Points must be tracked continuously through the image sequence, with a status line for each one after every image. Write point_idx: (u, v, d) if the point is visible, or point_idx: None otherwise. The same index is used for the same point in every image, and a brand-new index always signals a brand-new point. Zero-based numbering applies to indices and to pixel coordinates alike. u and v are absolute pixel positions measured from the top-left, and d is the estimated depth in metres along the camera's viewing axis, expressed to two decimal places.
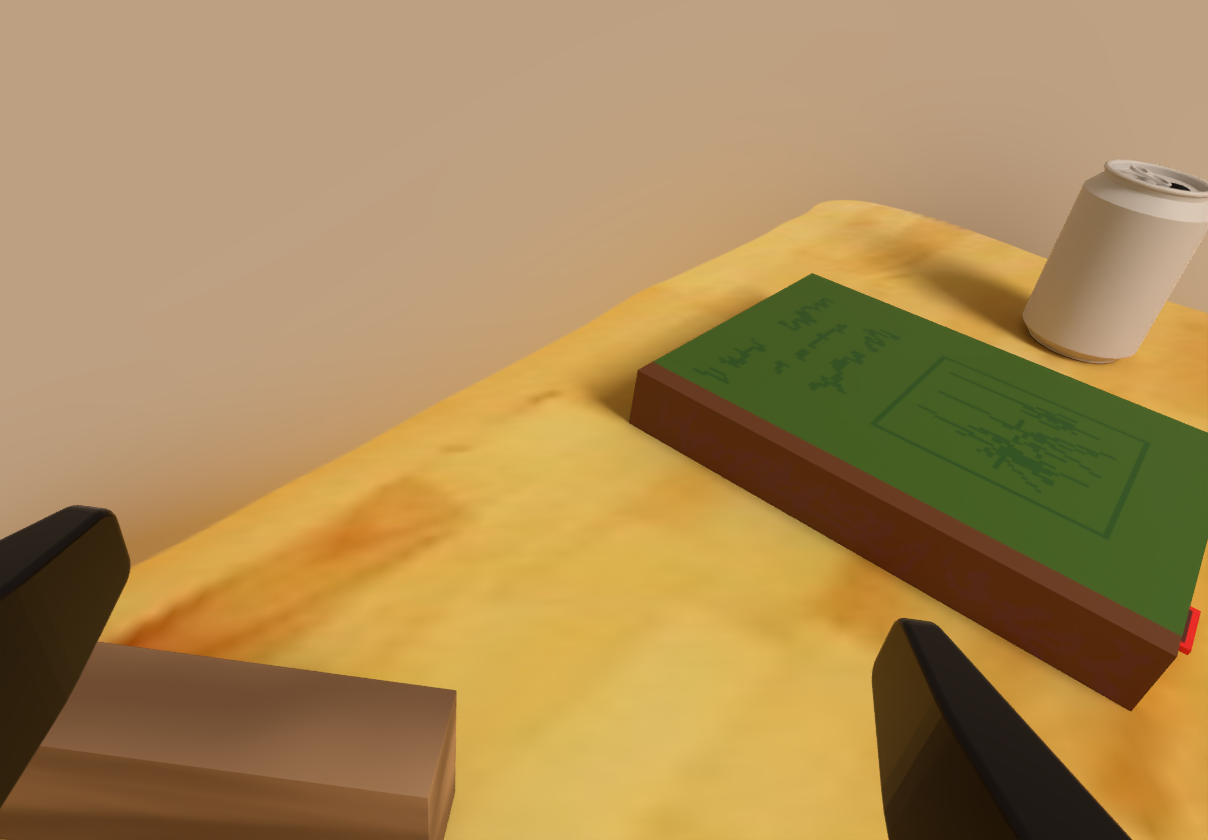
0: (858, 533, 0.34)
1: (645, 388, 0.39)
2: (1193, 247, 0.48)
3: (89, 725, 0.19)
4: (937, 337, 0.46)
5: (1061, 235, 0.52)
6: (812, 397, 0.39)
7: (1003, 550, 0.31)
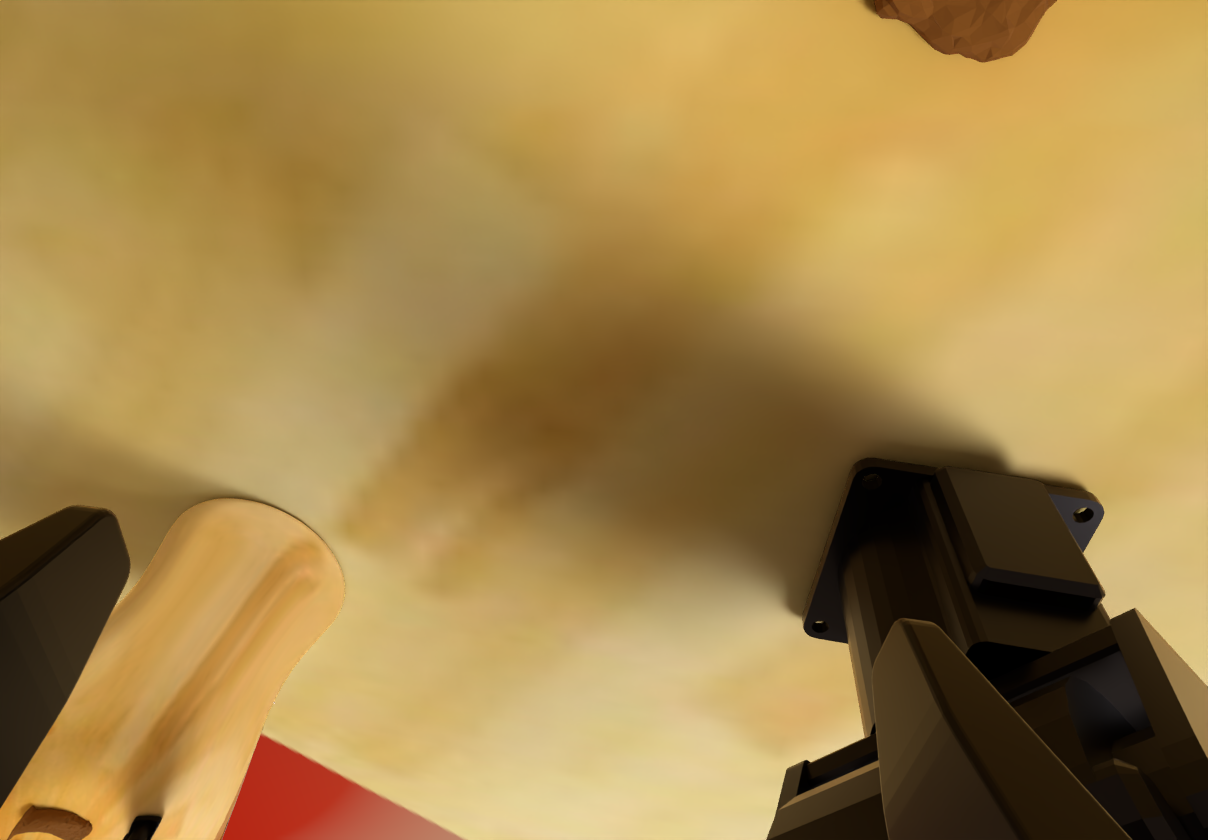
0: None
1: None
2: None
3: None
4: None
5: None
6: None
7: None
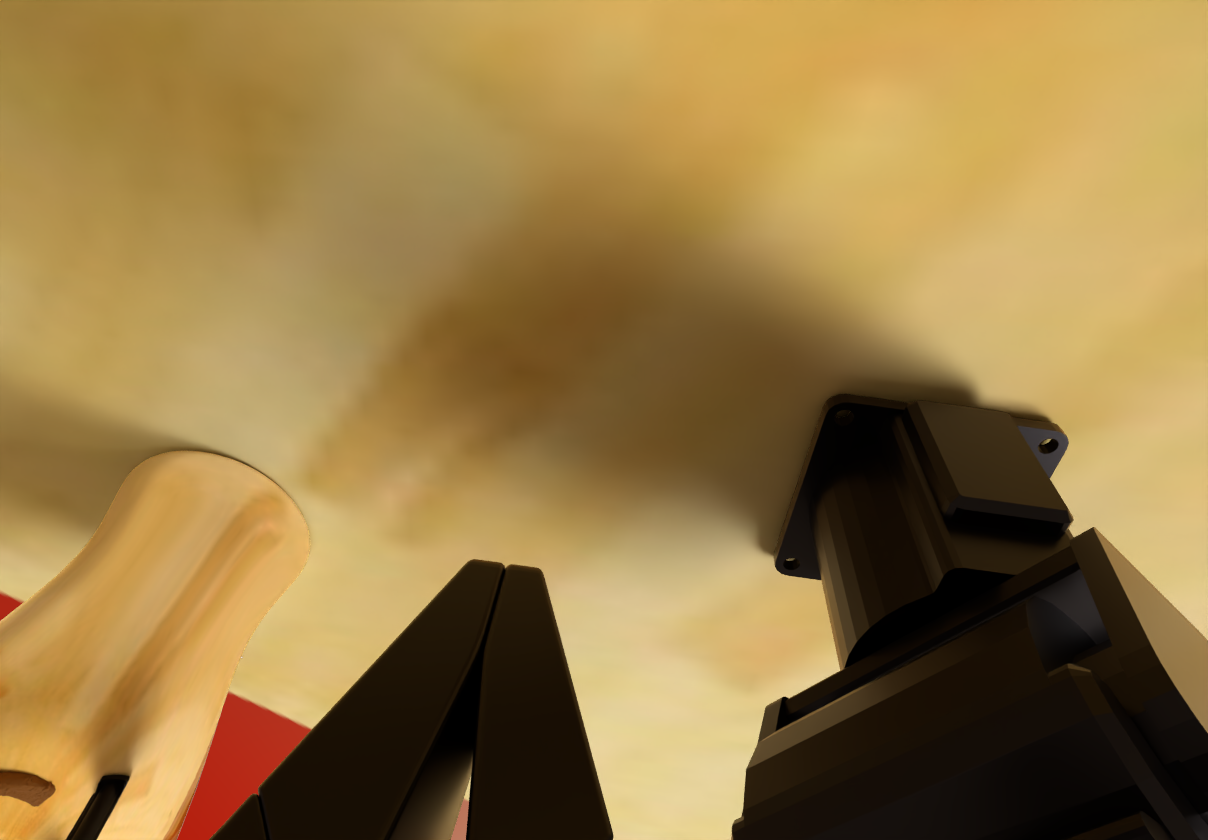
0: None
1: None
2: None
3: None
4: None
5: None
6: None
7: None
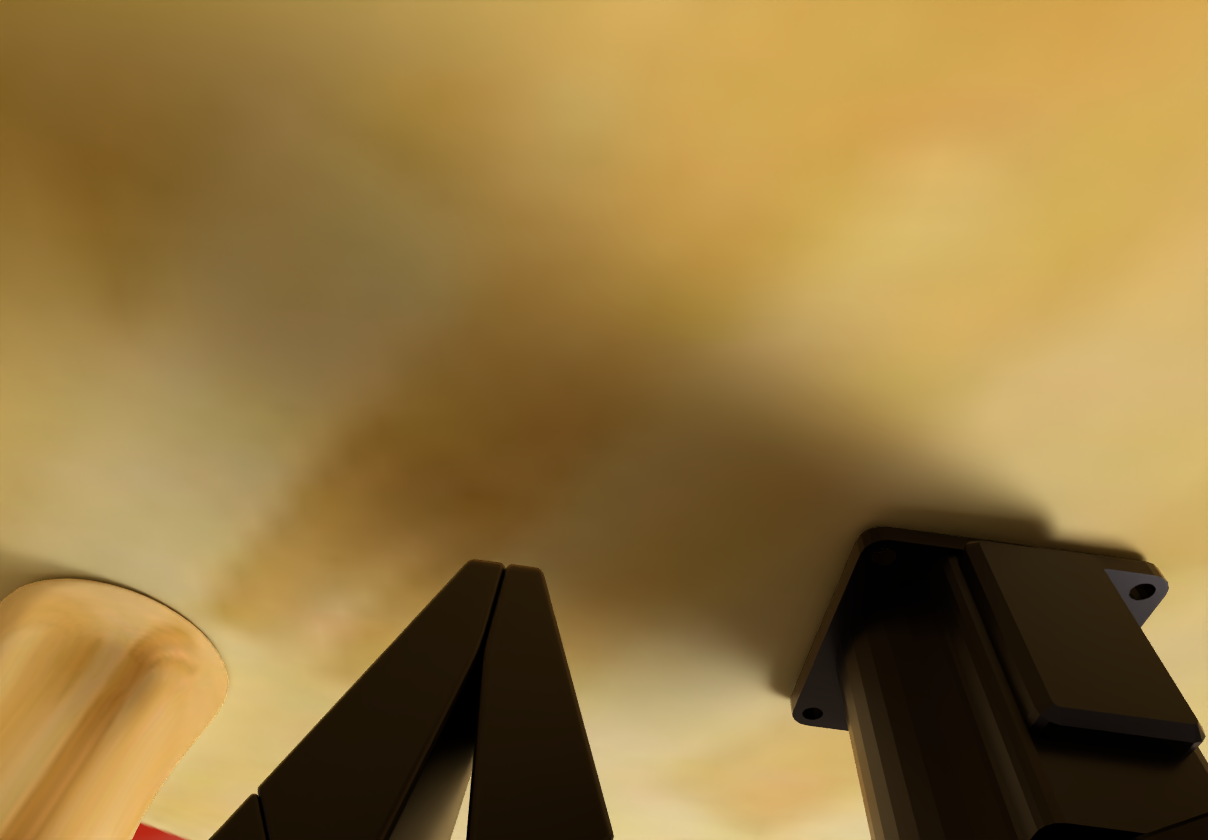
0: None
1: None
2: None
3: None
4: None
5: None
6: None
7: None
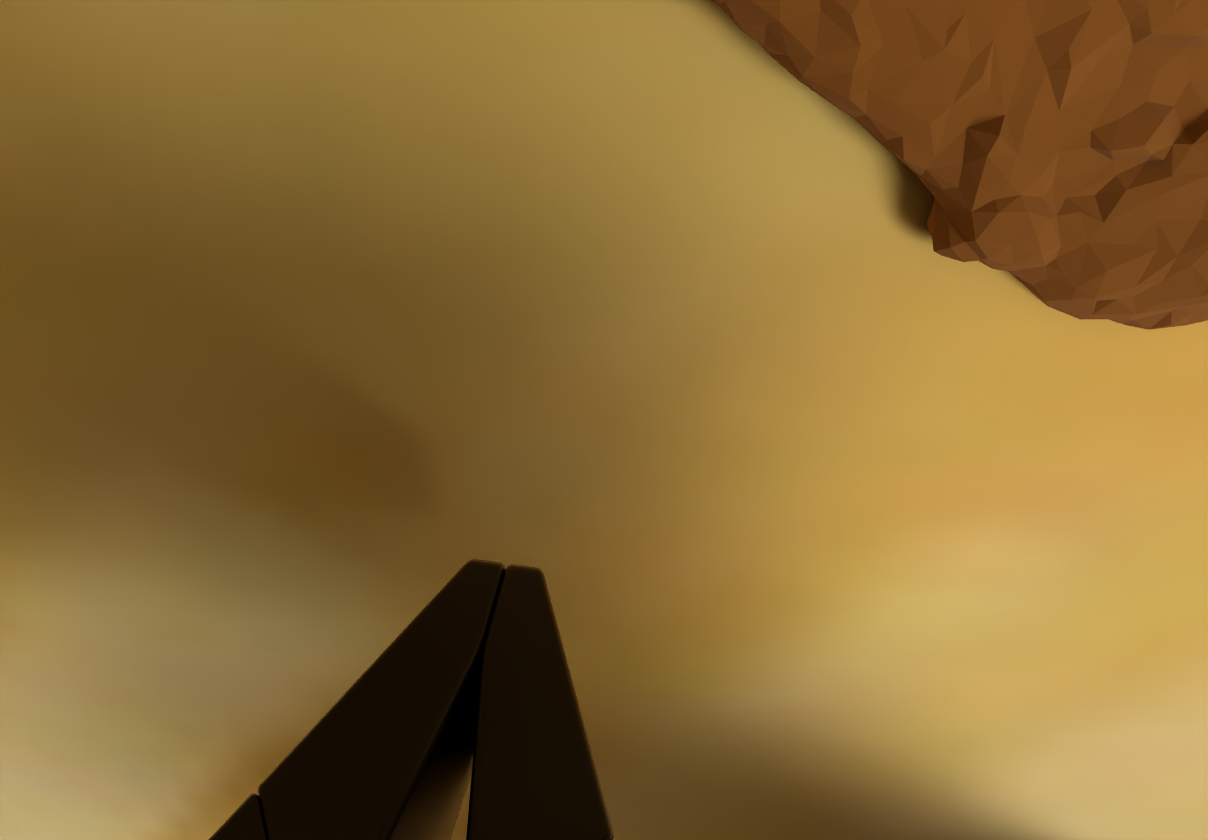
0: None
1: None
2: None
3: None
4: None
5: None
6: None
7: None
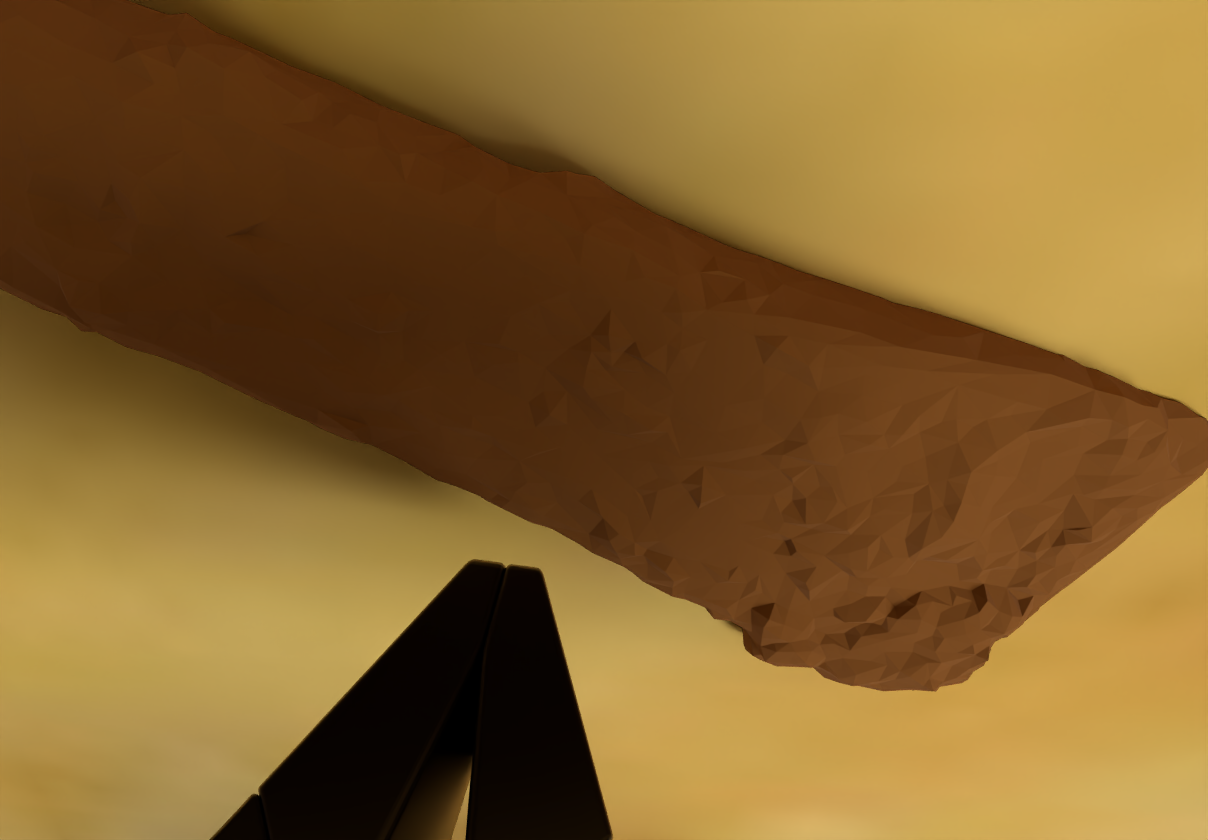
0: None
1: None
2: None
3: None
4: None
5: None
6: None
7: None
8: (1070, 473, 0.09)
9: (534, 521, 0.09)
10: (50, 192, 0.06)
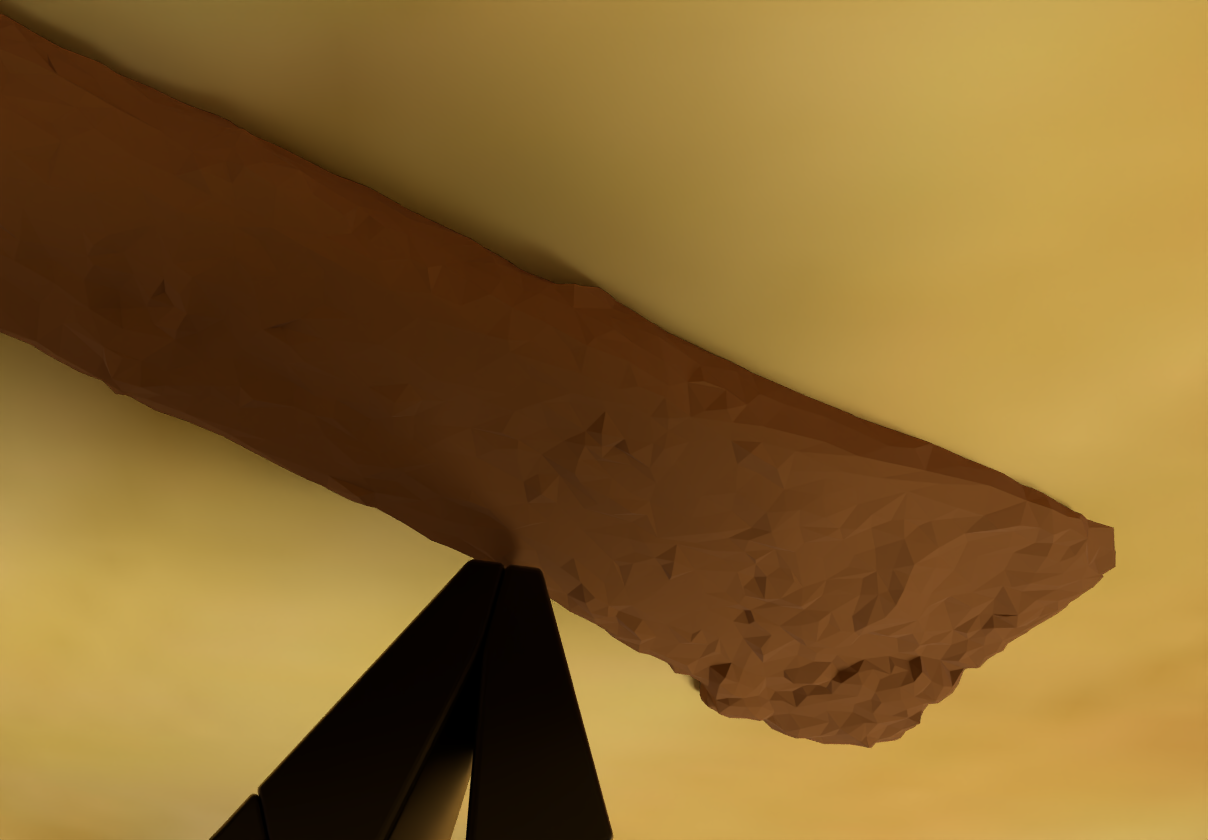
0: None
1: None
2: None
3: None
4: None
5: None
6: None
7: None
8: (1001, 568, 0.10)
9: None
10: (107, 281, 0.07)
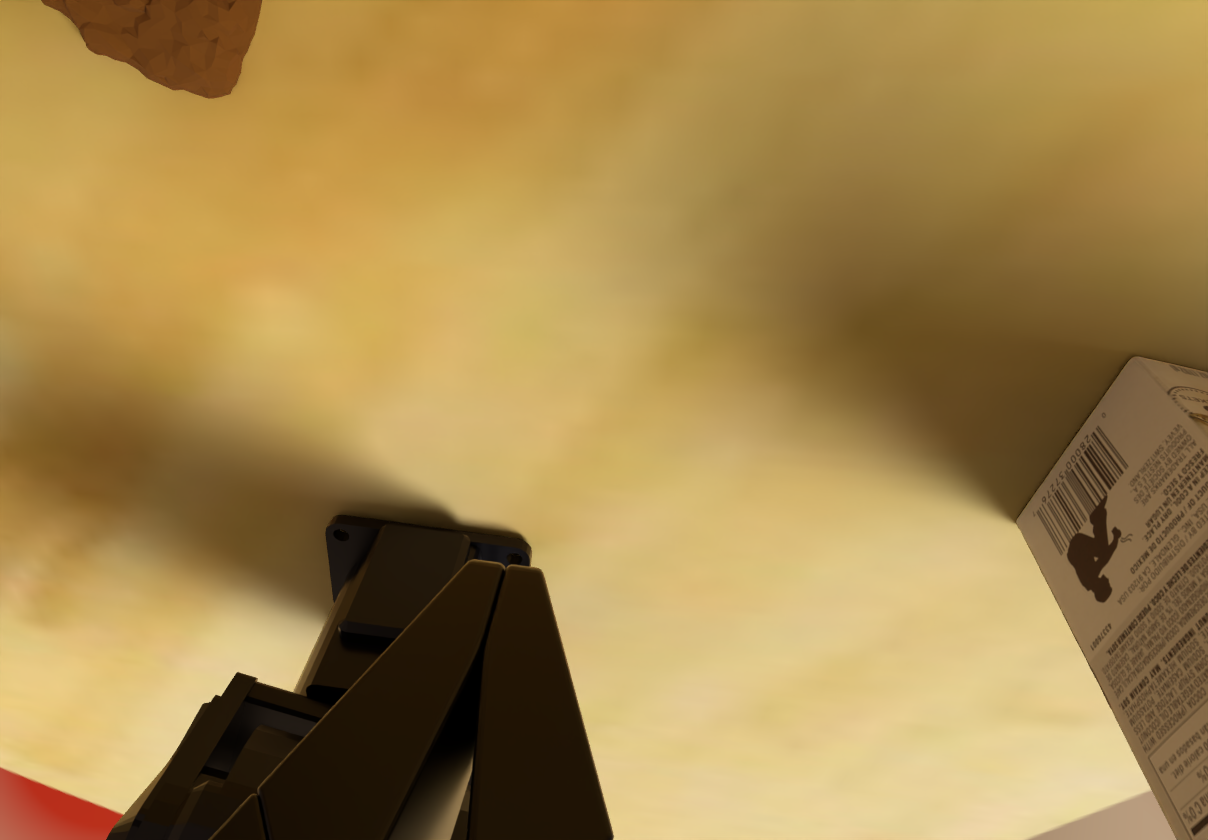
0: None
1: None
2: None
3: None
4: None
5: None
6: None
7: None
8: None
9: None
10: None
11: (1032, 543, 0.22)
